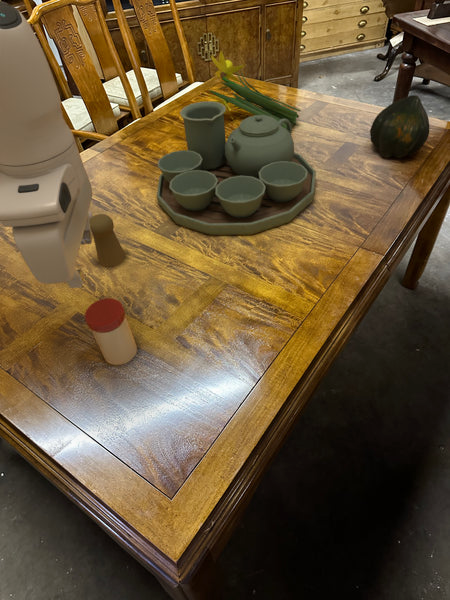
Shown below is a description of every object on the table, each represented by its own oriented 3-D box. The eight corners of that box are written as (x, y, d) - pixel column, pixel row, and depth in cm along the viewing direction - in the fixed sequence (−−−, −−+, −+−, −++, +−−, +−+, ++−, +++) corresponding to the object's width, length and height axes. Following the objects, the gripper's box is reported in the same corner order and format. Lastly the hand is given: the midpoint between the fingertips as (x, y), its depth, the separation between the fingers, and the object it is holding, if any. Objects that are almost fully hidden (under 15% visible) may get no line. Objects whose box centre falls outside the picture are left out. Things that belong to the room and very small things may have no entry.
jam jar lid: (84, 335, 64) (81, 328, 63) (90, 306, 69) (87, 300, 68) (124, 330, 65) (121, 324, 63) (126, 302, 69) (124, 295, 68)
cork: (110, 249, 94) (95, 207, 86) (131, 255, 92) (119, 213, 84) (93, 265, 91) (76, 223, 83) (115, 272, 88) (100, 230, 81)
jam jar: (102, 368, 71) (83, 330, 64) (106, 342, 75) (88, 303, 68) (136, 364, 71) (121, 325, 64) (138, 338, 75) (124, 298, 68)
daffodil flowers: (277, 145, 124) (182, 97, 132) (288, 150, 138) (201, 106, 145) (305, 88, 118) (203, 40, 125) (314, 98, 131) (221, 55, 139)
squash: (356, 140, 109) (407, 97, 99) (364, 119, 119) (411, 78, 109) (391, 178, 113) (444, 141, 102) (396, 154, 123) (444, 118, 112)
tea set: (129, 219, 102) (111, 155, 90) (204, 146, 126) (197, 88, 114) (284, 255, 88) (286, 185, 76) (335, 165, 112) (342, 102, 100)
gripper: (37, 134, 55) (72, 221, 65) (-10, 224, 41) (44, 317, 51) (84, 129, 56) (112, 216, 65) (54, 217, 41) (96, 311, 51)
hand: (82, 261), depth 58 cm, fingers open, 8 cm apart
